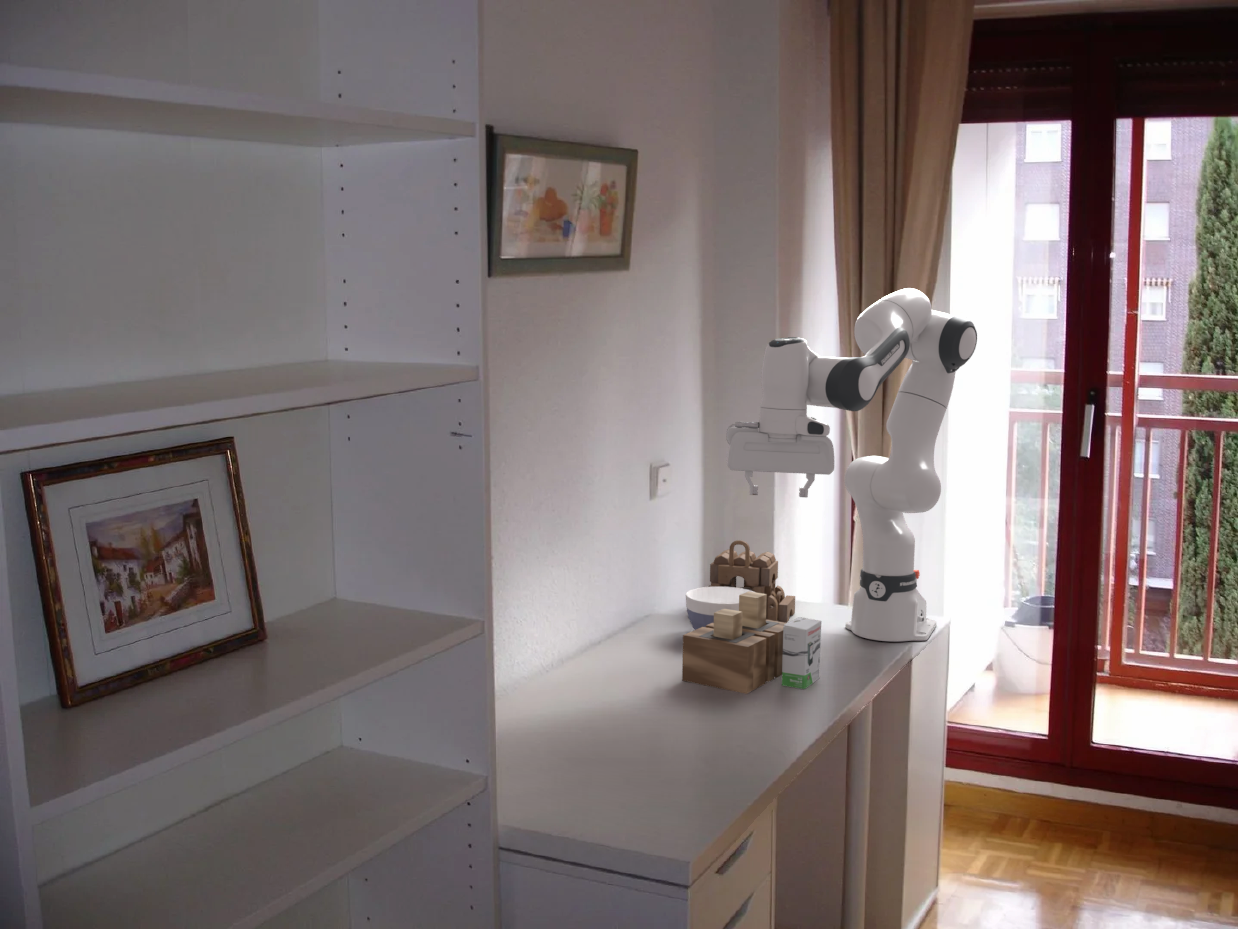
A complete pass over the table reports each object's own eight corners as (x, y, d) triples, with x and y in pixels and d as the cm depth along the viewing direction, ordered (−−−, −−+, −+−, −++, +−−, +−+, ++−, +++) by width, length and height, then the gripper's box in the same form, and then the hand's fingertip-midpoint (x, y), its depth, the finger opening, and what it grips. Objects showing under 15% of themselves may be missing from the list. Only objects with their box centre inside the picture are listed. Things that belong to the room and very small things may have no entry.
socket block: (732, 656, 252) (733, 613, 251) (794, 668, 244) (795, 624, 243) (682, 680, 235) (682, 634, 234) (746, 694, 228) (747, 646, 226)
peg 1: (723, 652, 238) (724, 608, 237) (741, 655, 235) (742, 611, 234) (713, 657, 234) (713, 612, 233) (731, 660, 232) (732, 616, 231)
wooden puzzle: (796, 611, 290) (798, 534, 288) (784, 626, 276) (786, 545, 274) (706, 603, 297) (708, 528, 295) (690, 618, 284) (691, 538, 281)
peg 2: (747, 633, 246) (748, 591, 245) (765, 636, 244) (766, 594, 242) (738, 638, 242) (739, 595, 241) (756, 641, 240) (757, 598, 239)
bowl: (700, 625, 277) (701, 583, 275) (767, 633, 270) (769, 591, 269) (673, 642, 262) (674, 598, 261) (744, 651, 256) (745, 606, 255)
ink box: (804, 690, 230) (806, 629, 229) (780, 686, 233) (781, 625, 231) (820, 678, 238) (822, 619, 236) (796, 674, 240) (798, 615, 239)
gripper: (728, 422, 228) (724, 495, 230) (838, 427, 228) (833, 500, 229) (726, 419, 234) (722, 491, 236) (833, 424, 234) (829, 496, 235)
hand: (778, 496), depth 232 cm, fingers open, 8 cm apart
